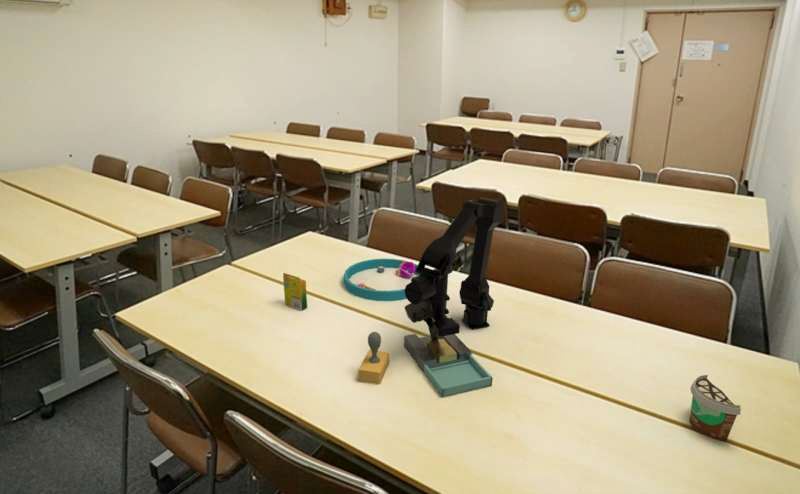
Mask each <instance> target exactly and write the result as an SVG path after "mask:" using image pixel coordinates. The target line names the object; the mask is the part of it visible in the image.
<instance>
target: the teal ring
mask: <svg viewBox="0 0 800 494" xmlns="http://www.w3.org/2000/svg"><path fill="white" fill-rule="evenodd" d="M417 266H418V264H416V263H415V262H413V261H407V260H403V259H396V258H373V259H367V260H362V261H359V262H355V263H354V264H352V265H350V266H348V268H347V269H345V271H344V273H343V285H344V289H346V291H347V292H348V293H349V294H352V295H353V296H355V297H357V298H361V299H365V300H369V301H375V302H395V301H396V302H397V301H403V300H408V299H407V298H406V296H405V288H401V289H394V290H393V289H392V290H378V289H375V288H372V287H371V286H367V285H366V284H365V281H364V283H353V282H352V281H351V280H350V279H351V278H352V277H353V276H354V275H356V274H358V273H360V272H364V271H367V270H372V269H377V272H378V273H384V271H385V269H395V270H394V273H395V275H396V276H397V277H398V276H399V277H404V278H409V277H411V276H412V275H413V274H415V275H416V276H419V275H420V273H417V272H416V268H417ZM407 284H408V283H407ZM407 284H406V285H407ZM406 285H405V286H406Z"/></svg>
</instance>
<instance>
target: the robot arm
mask: <svg viewBox="0 0 800 494" xmlns="http://www.w3.org/2000/svg"><path fill="white" fill-rule="evenodd" d="M504 211H505V207H504V205H503V204H502V202H501V201H500V200H494V199H491V198H485V197H479V198H477V199H470V200H466V201H465V202H463V204H462V206H461V209H460V211H459V212H458V214H457V215H456V216H455V217H454V219H453V220H452V222H451V223H450V224H449V226H448V228H447V229H446V230H445V232H444V233H443V234H442V236H441V237H438V238H436V239H434V240H433V241H431V242H430V243H429V244H428V246H427V247H425V249H424V251H423V252H422V255H421V257H420V260H419V262H418V264H417V265H418V266H417V268H416V272H417V273H420V275H419V276H418V275H416V276H413V277H411V279H410V282H409V283H407V285H405V288H404V289H405V296H406V298H407V299H406V300H407V301H408V302H409V303H407V305H405V306H404V310H405V312H406V313H405V314H406V315H407V317H408V319H409V320H410V322H411V323H414V324H416V323H418V322H419V323H421V322H422V321H424V322H425V323H426V325H427V327H428V332H429V336H431V340H432V341H433V340H438V338H439V337H440V336H441V337H442V336H447V335H453V334H455V335H457V334H460V333H461V325H460V324H459V323H458V322H457V321H456V320H455V319H454V318H453V317H448V316H447V315H449V314H450V310H449V309H448V308H447V304H448V303H447V301H450V299H451V297H450V296H449V294H448V282H449V280H448V279H449V275H450V274H452V273H453V269H452V266H453V264H454V261H455V260H456V258H457V249H458V247H459V245H460V244H461V243H462V241H463V240H464V238H465V236H466V235H467V234H468V232H469V231H470V230H471V228H472V227H473V226H475V229H476V230H475V236H474V241H473V249H472V254H471V260H470V265H469V266H470V267H469V273H468V276H467V277H465V279H464V280H462V281H461V282H460V288H459V298H460V302H461V305H465V308H464V310H463V317H462V319H461V321H462V322H463V324H465V325H466V326H467V327H468V328H469V329H470V330H477V329H481V328H487V327H490V323H488V312H490V311H492V308H493V307H494V303H495V300H494V299H493V298H492V296H491V295H490V285H489V282H488V279H487V271H488V270H487V269H488V263H489V259H490V258H489V257H490V252H491V246H492V241H493V235H494V230H495V229H496V228H497V227H498V225H500V223H501V221H502V217H503V215H504ZM426 266H427V267H426ZM428 267H429V268H428ZM431 268H433V269H431Z"/></svg>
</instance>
